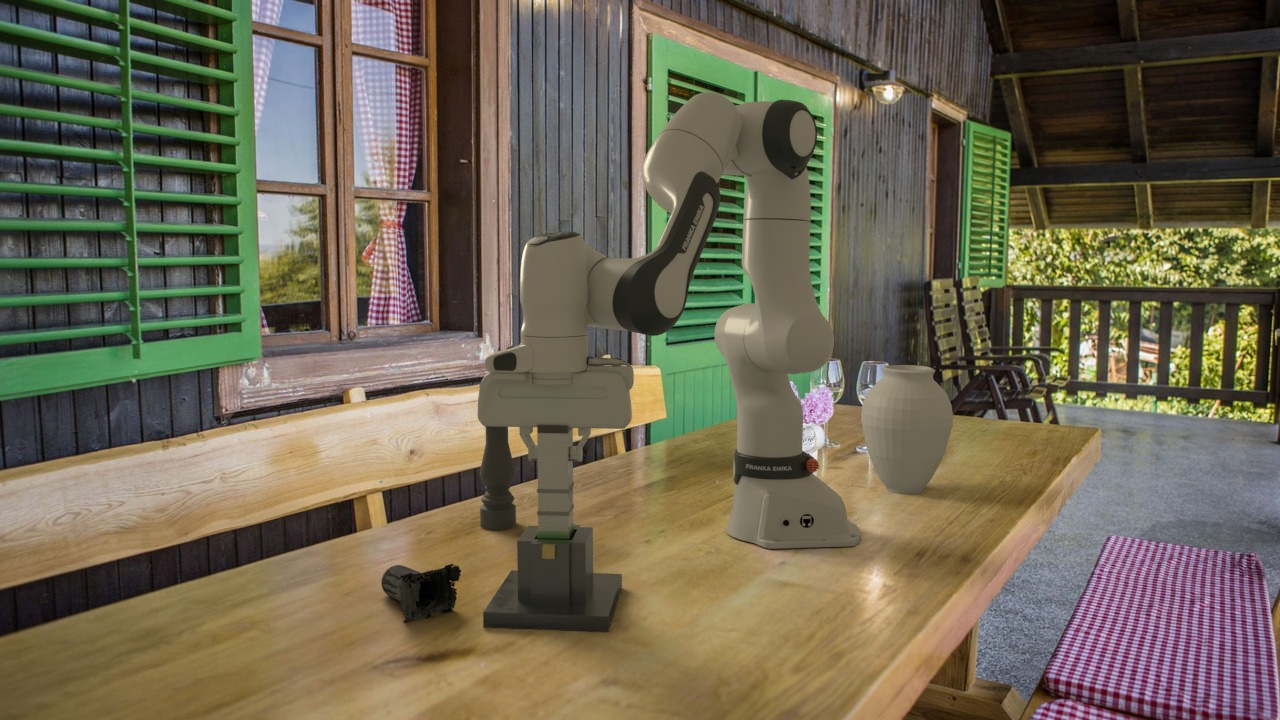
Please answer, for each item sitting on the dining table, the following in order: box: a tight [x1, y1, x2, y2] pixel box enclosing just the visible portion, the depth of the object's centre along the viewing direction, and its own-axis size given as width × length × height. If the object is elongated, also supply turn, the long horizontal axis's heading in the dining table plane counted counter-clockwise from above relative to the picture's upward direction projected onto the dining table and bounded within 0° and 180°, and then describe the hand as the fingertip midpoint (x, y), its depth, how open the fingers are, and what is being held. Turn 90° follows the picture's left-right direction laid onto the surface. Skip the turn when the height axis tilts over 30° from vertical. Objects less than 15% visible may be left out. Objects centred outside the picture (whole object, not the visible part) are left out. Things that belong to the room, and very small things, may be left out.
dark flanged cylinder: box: [380, 563, 462, 623], centre depth 126 cm, size 9×8×12 cm
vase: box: [860, 364, 954, 495], centre depth 189 cm, size 18×18×25 cm
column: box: [536, 425, 575, 540], centre depth 125 cm, size 4×4×17 cm
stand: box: [482, 524, 623, 633], centre depth 126 cm, size 16×16×10 cm
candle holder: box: [479, 426, 517, 531], centre depth 163 cm, size 6×6×25 cm
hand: (555, 460), depth 124 cm, fingers open, 4 cm apart
